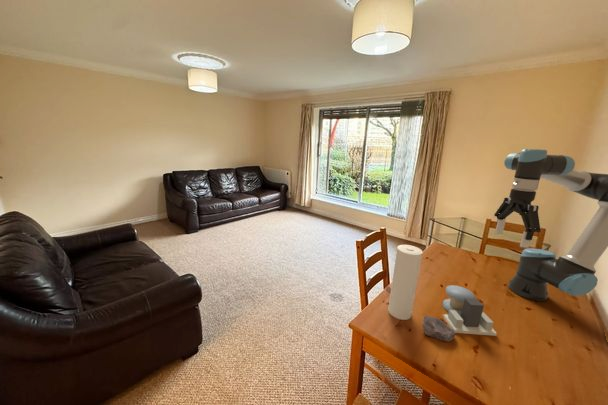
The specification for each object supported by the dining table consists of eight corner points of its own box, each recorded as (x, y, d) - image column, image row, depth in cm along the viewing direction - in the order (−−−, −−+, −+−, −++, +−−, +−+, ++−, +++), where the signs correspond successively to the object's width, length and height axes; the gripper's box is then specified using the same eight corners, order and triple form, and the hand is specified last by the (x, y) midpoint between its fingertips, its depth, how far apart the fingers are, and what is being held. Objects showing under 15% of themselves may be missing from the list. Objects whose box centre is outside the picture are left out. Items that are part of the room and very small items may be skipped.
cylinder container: (413, 321, 101) (425, 254, 94) (389, 317, 103) (399, 251, 96) (408, 307, 110) (419, 245, 103) (386, 303, 112) (396, 242, 105)
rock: (454, 347, 89) (457, 337, 88) (420, 335, 95) (422, 325, 94) (453, 333, 96) (456, 323, 95) (422, 322, 102) (423, 312, 101)
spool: (462, 302, 116) (465, 286, 114) (476, 318, 105) (481, 301, 103) (438, 300, 116) (441, 284, 114) (450, 316, 106) (454, 299, 103)
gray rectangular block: (471, 320, 102) (477, 299, 100) (478, 327, 98) (483, 305, 96) (459, 319, 102) (464, 298, 100) (465, 326, 98) (471, 304, 96)
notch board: (481, 319, 105) (483, 309, 103) (496, 335, 96) (499, 325, 95) (442, 316, 105) (444, 307, 104) (454, 332, 96) (456, 322, 95)
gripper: (491, 183, 108) (481, 228, 114) (542, 196, 84) (526, 253, 89) (509, 184, 108) (497, 229, 113) (565, 197, 84) (547, 254, 89)
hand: (510, 240), depth 101 cm, fingers open, 13 cm apart
